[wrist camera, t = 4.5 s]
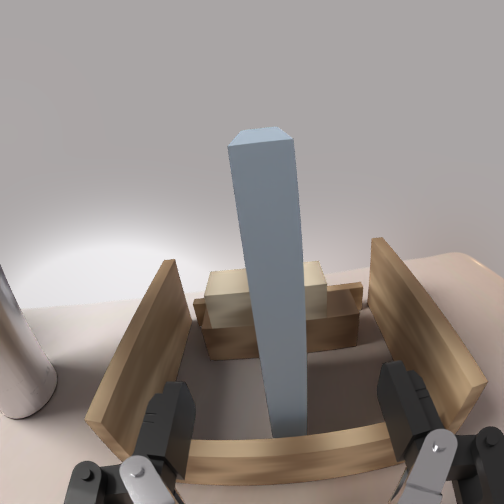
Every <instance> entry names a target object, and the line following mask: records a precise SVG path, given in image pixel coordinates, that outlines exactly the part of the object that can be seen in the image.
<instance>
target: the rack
mask: <svg viewBox="0 0 504 504" xmlns="http://www.w3.org/2000/svg"><path fill="white" fill-rule="evenodd" d="M345 289H349V290H350V292H351V295H352V297H353V299H354V301H355V304H356V306H357V308H358V310H361V309H362V297H363V286H362V284H361V282H357V283H349V284H341V285H333V286H327V292H329V291H337V290H345ZM367 304H368V306H369V308H370V310H371V312H372V314H373V316H374V318H375V320H376V323H377V325H378V327H379V329H380V331H381V333H382V335H383V338H384V340H385V342H386V344H387V346H388V349H389V351H390V353H391V355H392V358H393V360H394V361H398V360H401V361H402V362H403V364H404V366H405V368H406V371H410V370H414V371H415V372H416V373H417V374H419V375H420V376H421V377H422V379H423V381H424V383H425V385H426V389H427V390H428V392H429V394H430V397H431V399H432V401H433V403H434V405H435V408H436V410H437V412H438V415H439V417H440V419H441V422H442V424H443V426H444V427H445V429H446V430H449V431H451V432H452V433H453V434H454V435H455V434H456V432H457V431H458V430H459V428H460V427H461V425H462V424H463V422H464V421H465V419H466V417H467V416H468V414H469V413H470V411H471V410H472V408H473V406H474V405H475V403H476V401H477V400H478V398H479V396H480V395H481V393H482V391H483V389H484V388H485V386H486V384H487V382H488V381H487V379H486V378H485V376H484V374H483V373H482V371H481V369H480V368H479V366H478V365H477V363H476V362H475V360H474V358H473V357H472V355H471V354H470V352H469V351H468V349H467V348H466V346H465V345H464V343H463V342H462V340H461V339H460V337H459V336H458V334H457V333H456V331H455V330H454V329H453V327H452V326H451V324H450V323H449V321H448V320H447V319H446V317H445V316H444V314H443V313H442V312H441V310H440V309H439V308H438V306H437V305H436V304H435V302H434V301H433V300H432V298H431V297H430V296H429V294H428V293H427V292H426V290H425V289H424V288H423V286H422V285H421V284H420V283H419V281H418V280H417V279H416V277H415V276H414V275H413V274H412V272H411V271H410V270H409V269H408V267H407V266H406V265H405V264H404V262H403V261H402V260H401V259H400V258H399V257H398V255H397V254H396V253H395V252H394V251H393V249H392V248H391V247H390V246H389V245H388V243H387V242H386V241H385V240H384V239H383V238H382V237H381V238H372V242H371V263H370V277H369V290H368V301H367ZM193 306H194V310H195V314H196V317H197V321H198V324H199V326H202V324H203V320H204V315H205V311H206V307H207V306H206V302H205V298H201V299H194V302H193ZM191 323H192V319H191V316H190V312H189V309H188V306H187V302H186V298H185V295H184V291H183V288H182V284H181V280H180V277H179V273H178V269H177V265H176V261H175V259H171V260H164V261H163V263H162V265H161V267H160V269H159V270H158V272H157V274H156V275H155V277H154V279H153V281H152V283H151V285H150V286H149V288H148V290H147V292H146V294H145V295H144V297H143V299H142V301H141V303H140V305H139V307H138V309H137V310H136V312H135V314H134V316H133V318H132V320H131V322H130V324H129V326H128V328H127V330H126V332H125V334H124V336H123V338H122V340H121V342H120V344H119V346H118V348H117V350H116V352H115V354H114V356H113V358H112V360H111V362H110V364H109V366H108V368H107V370H106V372H105V375H104V377H103V379H102V381H101V383H100V385H99V387H98V390H97V392H96V394H95V396H94V398H93V401H92V403H91V405H90V407H89V410H88V412H87V414H86V417H85V419H84V420H85V421H86V423H87V424H88V425H89V426H90V427H91V429H92V430H93V431H94V432H95V433H96V434H97V435H98V437H99V438H100V439H101V440H102V441H103V442H104V443H105V444H106V446H107V447H108V448H109V449H110V450H111V451H112V452H113V453H114V454H115V455H116V456H117V457H118V458H119V459H120V460H121V461H122V462H123V461H124V460H126V459H127V458H129V457H131V456H132V454H133V452H134V449H135V446H136V442H137V439H138V435H139V432H140V428H141V425H142V423H143V418H144V415H145V412H146V408H147V405H148V402H149V401H150V400H151V398H152V397H153V396H154V395H155V394H156V393H161V394H162V393H163V389H164V386H165V383H166V382H167V381H175V382H176V378H177V375H178V371H179V367H180V363H181V359H182V356H183V352H184V348H185V345H186V341H187V337H188V334H189V330H190V326H191ZM404 462H405V460H404V461H401V462H397V461H396V458H395V454H394V450H393V447H392V443H391V440H390V436H389V433H388V430H387V426H386V423H385V422H382V423H378V424H373V425H368V426H363V427H358V428H353V429H347V430H341V431H335V432H328V433H321V434H313V435H305V436H296V437H285V438H272V439H254V440H191V444H190V450H189V456H188V462H187V468H186V474H185V480H178V479H176V482H178V483H189V484H203V485H233V486H244V485H274V484H288V483H299V482H308V481H317V480H324V479H331V478H337V477H343V476H349V475H354V474H359V473H364V472H368V471H373V470H377V469H381V468H385V467H389V466H393V465H397V464H401V463H404Z"/></svg>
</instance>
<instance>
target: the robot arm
mask: <svg viewBox="0 0 504 504" xmlns="http://www.w3.org/2000/svg"><path fill="white" fill-rule="evenodd" d="M56 383H57V374H56V371H55V369H54V368H53V366H52V364H51V363H50V361H49V360H48V358H47V356H46V355H45V353H44V351H43V350H42V348H41V346H40V345H39V343H38V341H37V339H36V337H35V336H34V334H33V332H32V330H31V328H30V326H29V325H28V323H27V321H26V319H25V317H24V315H23V313H22V311H21V309H20V307H19V305H18V303H17V301H16V299H15V297H14V295H13V293H12V290H11V288H10V286H9V284H8V282H7V279H6V277H5V275H4V272H3V270H2V267H1V265H0V411H1V412H2V413H3V414H4V415H5V416H7V417H9V418H15V419H18V418H24V417H27V416H30V415H32V414H33V413H35V412H37V411H38V410H39V409H41V408H42V407H43V406H44V405H45V404H46V403H47V402H48V400H49V399H50V397H51V396H52V394H53V392H54V390H55V388H56ZM377 396H378V400H379V404H380V407H381V410H382V413H383V416H384V420H385V423H386V426H387V430H388V433H389V436H390V440H391V443H392V447H393V450H394V454H395V458H396V461H397V462H401V461H404V460H405V462H406V466H407V467H406V469H405V471H404V473H403V475H402V477H401V479H400V481H399V483H398V485H397V487H396V489H395V490H394V492H393V494H392V496H391V498H390V500H389V501H388V503H387V504H440V502H441V500H442V494H441V491H442V488H443V485H444V483H445V481H451V480H452V484H453V488H454V492H455V497H456V501H457V504H504V435H503V433H502V432H501V430H499V429H498V428H496V427H491V426H490V427H485V428H483V429H482V430H481V431H480V432H479V433H478V434H477V435H462V436H460V435H454V434H453V433H452V432H451V431H449V430H446V429H445V427H444V426H443V424H442V422H441V419H440V417H439V415H438V412H437V410H436V408H435V405H434V403H433V401H432V399H431V397H430V394H429V392H428V390H427V389H426V385H425V383H424V381H423V379H422V377H421V376H420V375H419V374H417V373H416V372H415V371H414V370H410V371H406V368H405V366H404V364H403V362H402V361H401V360H398V361H393V362H388V363H384V364H383V365H382V369H381V373H380V377H379V381H378V385H377ZM195 413H196V411H195V404H194V401H193V399H192V396H191V394H190V392H189V389H188V387H187V385H186V383H185V382H175V381H167V382H166V383H165V386H164V389H163V393H162V394H161V393H156V394H155V395H154V396H153V397H152V398H151V400H150V401H149V402H148V405H147V408H146V412H145V415H144V418H143V423H142V425H141V428H140V432H139V435H138V439H137V442H136V446H135V449H134V452H133V454H132V456H131V457H129V458H127V459H126V460H124V461H123V463H122V464H119V465H113V466H104V467H99V466H98V465H97V464H95V463H94V462H91V461H83V462H81V463H79V464H77V465H76V466H75V468H74V469H73V472H72V475H71V479H70V482H69V486H68V489H67V493H66V497H65V501H64V504H186V503H185V502H184V500H183V499H182V497H181V496H180V494H179V493H178V491H177V490H176V488H175V483H176V479H178V480H185V474H186V468H187V462H188V456H189V450H190V444H191V438H192V432H193V426H194V420H195Z"/></svg>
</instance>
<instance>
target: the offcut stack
mask: <svg viewBox="0 0 504 504" xmlns="http://www.w3.org/2000/svg"><path fill="white" fill-rule="evenodd" d="M303 267H304V287H305V312H306V346H307V353H310V352H318V351H325V350H333V349H340V348H347V347H353V346H356V344H357V335H358V326H359V315H360V313H359V311H358V308H357V306H356V304H355V301H354V299H353V297H352V295H351V292H350V290H349V289H345V290H337V291H329V292H327V282H326V280H325V277H324V274H323V271H322V269H321V266H320V263H319V261H312V262H303ZM204 298H205V302H206V306H207V307H206V311H205V315H204V320H203V324H202V328H201V330H202V334H203V337H204V340H205V344H206V347H207V350H208V354H209V357H210V360H229V359H245V358H259V357H260V356H259V350H258V343H257V337H256V331H255V324H254V318H253V312H252V305H251V299H250V293H249V286H248V280H247V273H246V268H245V269H234V270H224V271H214V272H210V275H209V279H208V283H207V287H206V290H205V294H204Z"/></svg>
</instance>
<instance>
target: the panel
mask: <svg viewBox="0 0 504 504" xmlns="http://www.w3.org/2000/svg"><path fill="white" fill-rule="evenodd" d="M228 153H229V160H230V167H231V174H232V180H233V187H234V194H235V201H236V207H237V214H238V220H239V227H240V234H241V240H242V246H243V254H244V260H245V267H246V273H247V280H248V286H249V293H250V299H251V305H252V312H253V318H254V324H255V331H256V337H257V343H258V350H259V356H260V362H261V368H262V374H263V381H264V387H265V393H266V399H267V405H268V411H269V417H270V423H271V429H272V435H273V438H285V437H296V436H305V435H307V346H306V312H305V287H304V267H303V250H302V234H301V219H300V207H299V193H298V182H297V171H296V161H295V150H294V141H293V138H291V137H290V136H289V135H288V134H286V133H285V132H284V131H282V130H281V129H280V128H278V127H268V128H259V129H250V130H242V131H241V132H240V133H239V134H238V135H237V136H236V137H235V138H234V139H233V141H232V142H231V143H230V144H229V145H228Z"/></svg>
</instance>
